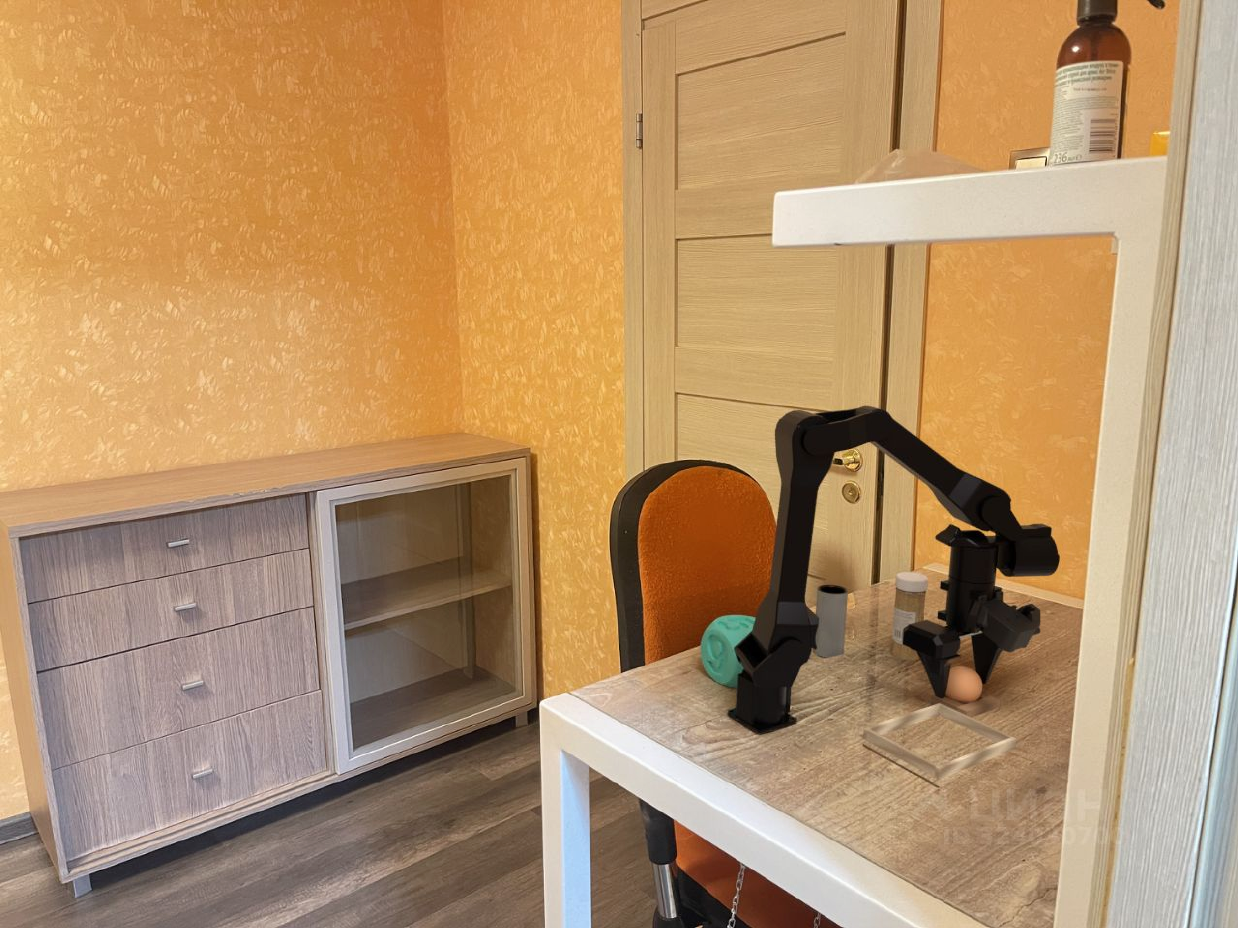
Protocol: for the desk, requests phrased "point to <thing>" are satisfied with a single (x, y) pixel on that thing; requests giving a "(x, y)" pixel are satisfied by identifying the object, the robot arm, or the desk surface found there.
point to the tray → (930, 768)
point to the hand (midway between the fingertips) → (961, 690)
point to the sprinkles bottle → (907, 610)
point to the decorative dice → (724, 647)
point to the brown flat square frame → (969, 709)
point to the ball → (963, 685)
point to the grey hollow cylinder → (831, 620)
